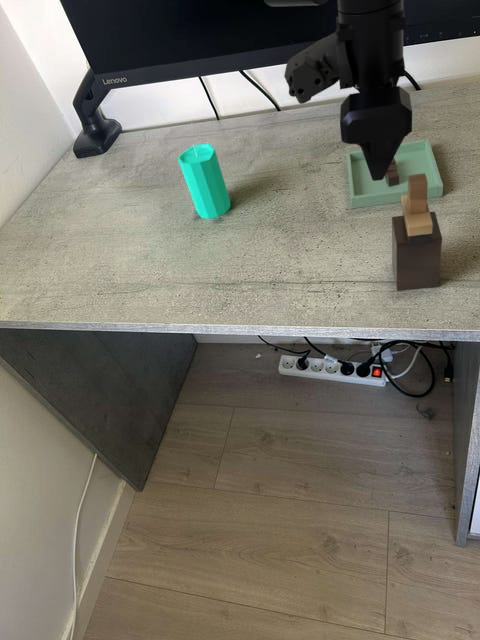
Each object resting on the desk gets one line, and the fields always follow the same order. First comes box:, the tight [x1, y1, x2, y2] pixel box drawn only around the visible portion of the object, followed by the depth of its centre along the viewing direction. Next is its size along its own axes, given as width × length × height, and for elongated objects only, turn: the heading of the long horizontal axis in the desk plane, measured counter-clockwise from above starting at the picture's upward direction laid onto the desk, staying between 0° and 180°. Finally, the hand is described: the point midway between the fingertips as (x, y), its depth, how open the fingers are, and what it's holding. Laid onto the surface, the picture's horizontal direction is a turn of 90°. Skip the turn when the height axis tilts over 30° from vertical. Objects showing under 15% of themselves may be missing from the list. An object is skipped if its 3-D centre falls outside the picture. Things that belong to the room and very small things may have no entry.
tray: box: [345, 138, 444, 210], centre depth 77 cm, size 13×13×2 cm
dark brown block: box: [391, 211, 443, 292], centre depth 60 cm, size 5×5×8 cm
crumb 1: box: [385, 164, 397, 179], centre depth 77 cm, size 2×2×2 cm
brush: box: [401, 173, 433, 244], centre depth 55 cm, size 6×3×7 cm, turn 175°
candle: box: [177, 143, 232, 220], centre depth 80 cm, size 6×6×12 cm
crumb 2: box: [386, 171, 399, 187], centre depth 76 cm, size 2×2×2 cm
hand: (376, 156), depth 55 cm, fingers open, 9 cm apart
